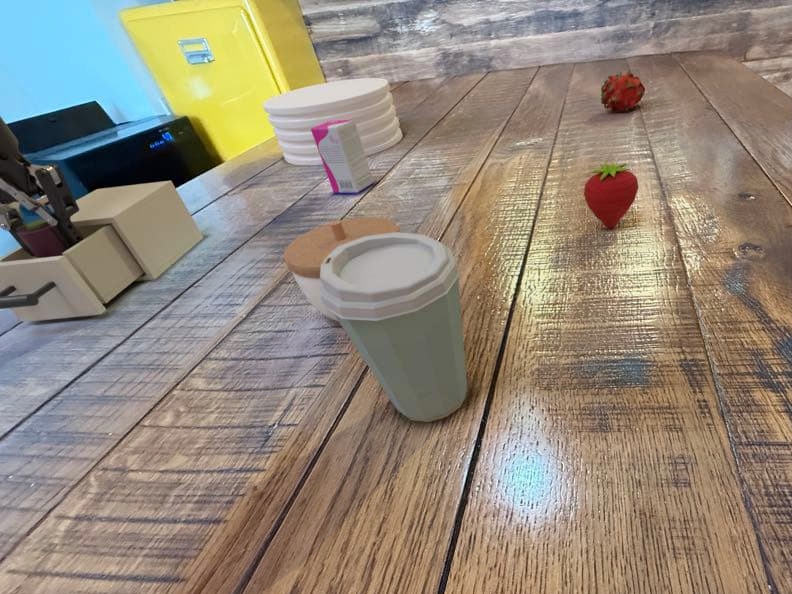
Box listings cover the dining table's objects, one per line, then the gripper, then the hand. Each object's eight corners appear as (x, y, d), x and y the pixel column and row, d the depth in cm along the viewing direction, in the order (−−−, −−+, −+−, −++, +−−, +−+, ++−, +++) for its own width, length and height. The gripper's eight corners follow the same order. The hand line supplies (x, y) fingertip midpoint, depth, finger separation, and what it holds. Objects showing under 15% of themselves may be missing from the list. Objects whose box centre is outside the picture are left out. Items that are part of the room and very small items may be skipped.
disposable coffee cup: (492, 362, 51) (460, 216, 41) (486, 439, 43) (445, 280, 33) (389, 373, 52) (334, 231, 42) (364, 450, 44) (289, 298, 34)
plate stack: (300, 175, 109) (276, 114, 101) (274, 150, 127) (252, 98, 119) (420, 141, 118) (406, 84, 111) (379, 123, 137) (365, 73, 129)
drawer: (76, 334, 64) (28, 278, 58) (-7, 342, 65) (-62, 287, 59) (158, 266, 77) (125, 216, 72) (89, 273, 78) (51, 224, 73)
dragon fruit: (596, 123, 119) (639, 120, 124) (614, 103, 112) (659, 101, 116) (588, 86, 119) (631, 85, 123) (606, 63, 111) (651, 62, 115)
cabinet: (155, 280, 76) (112, 217, 69) (77, 288, 77) (28, 226, 70) (204, 238, 87) (171, 180, 80) (135, 246, 88) (97, 189, 81)
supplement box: (376, 184, 98) (355, 118, 91) (358, 196, 94) (335, 127, 87) (351, 184, 100) (329, 119, 93) (333, 195, 96) (308, 128, 89)
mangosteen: (31, 264, 67) (3, 232, 64) (58, 248, 70) (33, 216, 68) (66, 261, 66) (40, 228, 63) (91, 244, 70) (68, 212, 67)
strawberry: (645, 229, 71) (647, 152, 64) (594, 241, 69) (591, 164, 63) (627, 215, 75) (628, 141, 68) (579, 226, 74) (575, 152, 67)
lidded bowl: (311, 304, 65) (272, 219, 58) (407, 275, 68) (381, 191, 61) (322, 354, 56) (277, 261, 49) (432, 319, 59) (405, 226, 52)
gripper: (32, 94, 59) (127, 235, 70) (-79, 108, 60) (31, 245, 72) (-21, 109, 54) (91, 260, 65) (-143, 125, 55) (-12, 270, 66)
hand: (59, 251), depth 68 cm, fingers closed on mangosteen, 5 cm apart
